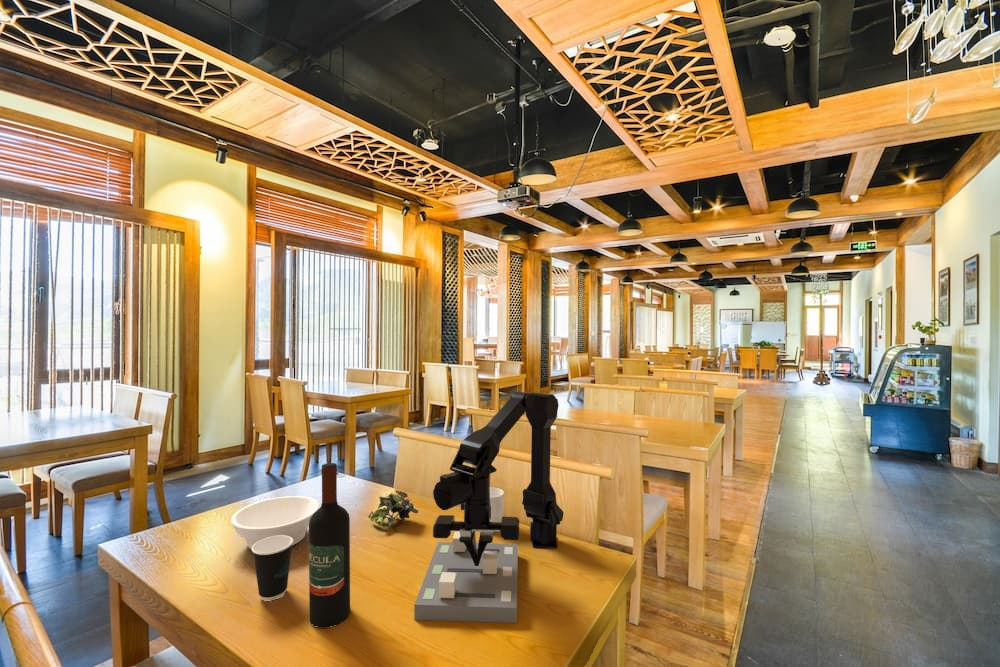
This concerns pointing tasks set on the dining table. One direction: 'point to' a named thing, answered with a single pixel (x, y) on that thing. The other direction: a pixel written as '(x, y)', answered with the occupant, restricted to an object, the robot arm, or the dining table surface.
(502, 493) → the white cup
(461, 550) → the block
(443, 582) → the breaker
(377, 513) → the green leafy clump
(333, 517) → the wine bottle
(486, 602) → the grey slider switch panel
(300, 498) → the bowl
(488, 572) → the block
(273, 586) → the dixie cup
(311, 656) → the dining table surface
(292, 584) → the dining table surface
